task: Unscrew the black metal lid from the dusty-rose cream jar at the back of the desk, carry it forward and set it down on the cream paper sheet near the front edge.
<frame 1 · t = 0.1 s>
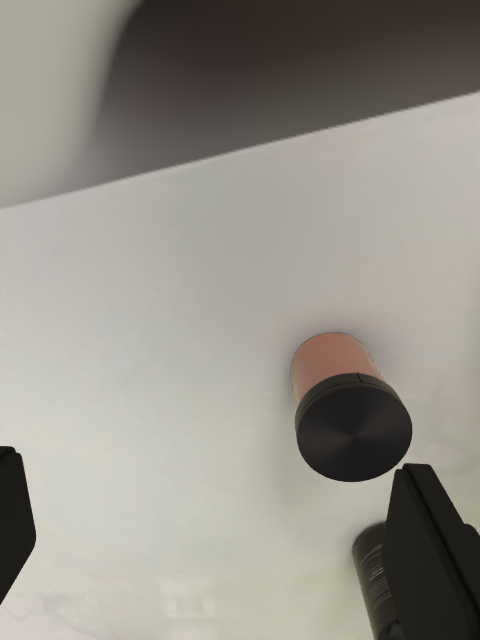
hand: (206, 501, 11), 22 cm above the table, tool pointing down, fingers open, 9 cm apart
supplement bottle: (388, 546, 40), on the table
cream jar: (330, 369, 34), on the table
jar lid: (352, 432, 26), point 8 cm above the table, screwed on, not yet turned
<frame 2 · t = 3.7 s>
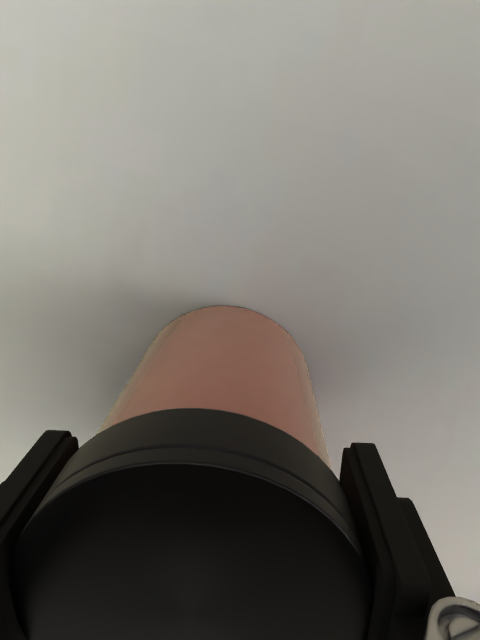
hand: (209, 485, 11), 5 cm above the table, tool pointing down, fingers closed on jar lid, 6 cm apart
cream jar: (225, 384, 16), on the table
jar lid: (192, 592, 8), point 8 cm above the table, screwed on, not yet turned, touching gripper
when the fingers open (5 cm above the table, at t = 6.0 s): jar lid stays where it is, point 9 cm above the table.
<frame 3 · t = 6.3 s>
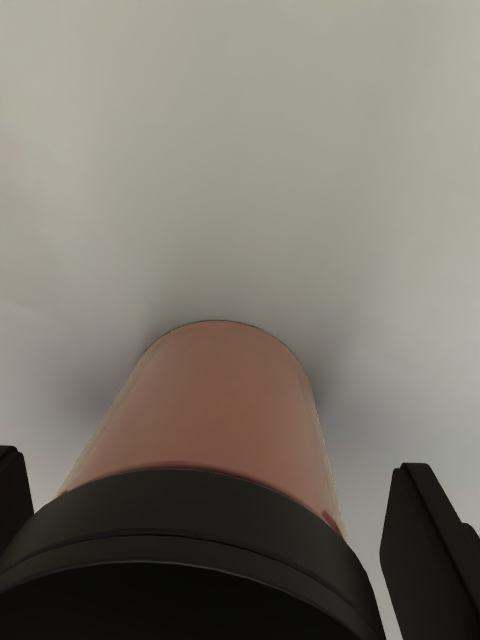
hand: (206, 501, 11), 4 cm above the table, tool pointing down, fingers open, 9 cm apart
cream jar: (220, 406, 15), on the table
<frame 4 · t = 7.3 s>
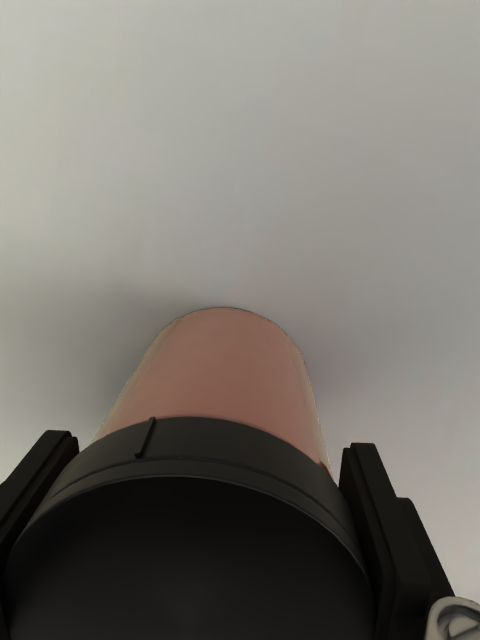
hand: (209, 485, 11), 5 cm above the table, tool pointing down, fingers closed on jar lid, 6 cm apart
cream jar: (224, 386, 16), on the table
jar lid: (190, 607, 8), point 9 cm above the table, turned 104° so far, risen 0.1 cm, still on its thread, touching gripper
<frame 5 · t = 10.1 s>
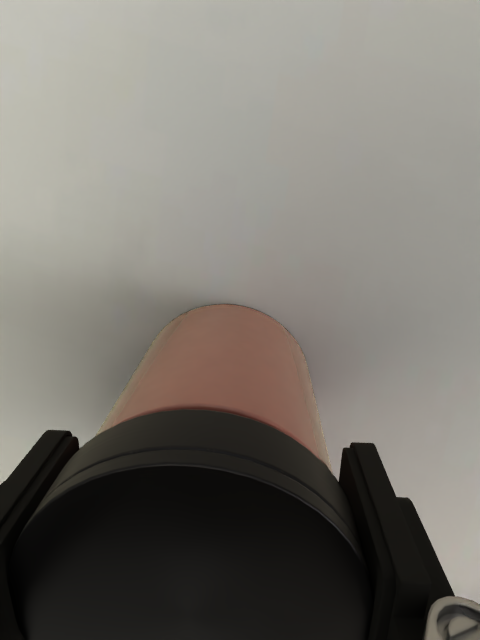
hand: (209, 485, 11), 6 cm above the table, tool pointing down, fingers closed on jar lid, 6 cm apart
cream jar: (225, 382, 17), on the table
jar lid: (191, 595, 8), point 9 cm above the table, turned 207° so far, risen 0.3 cm, still on its thread, touching gripper
when the fingers open (5 cm above the table, at t = 12.4 s): jar lid stays where it is, point 9 cm above the table.
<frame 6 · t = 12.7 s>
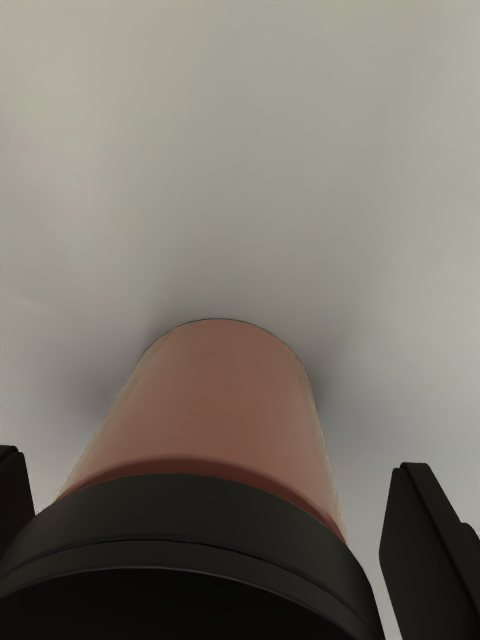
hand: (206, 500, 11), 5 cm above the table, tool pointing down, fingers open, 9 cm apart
cream jar: (220, 403, 15), on the table
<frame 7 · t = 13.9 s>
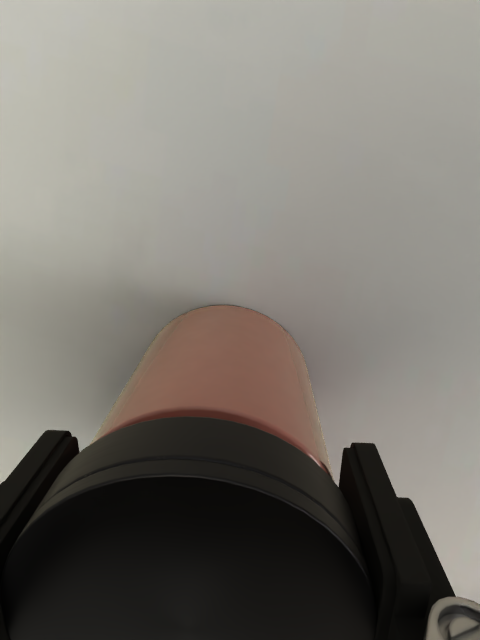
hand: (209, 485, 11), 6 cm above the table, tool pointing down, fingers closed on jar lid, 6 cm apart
cream jar: (224, 383, 17), on the table
jar lid: (190, 607, 8), point 9 cm above the table, turned 310° so far, risen 0.4 cm, still on its thread, touching gripper
when the fingers open (3 cm above the table, at t = 23.4 s): jar lid drops 4 cm, resting on cream paper sheet.
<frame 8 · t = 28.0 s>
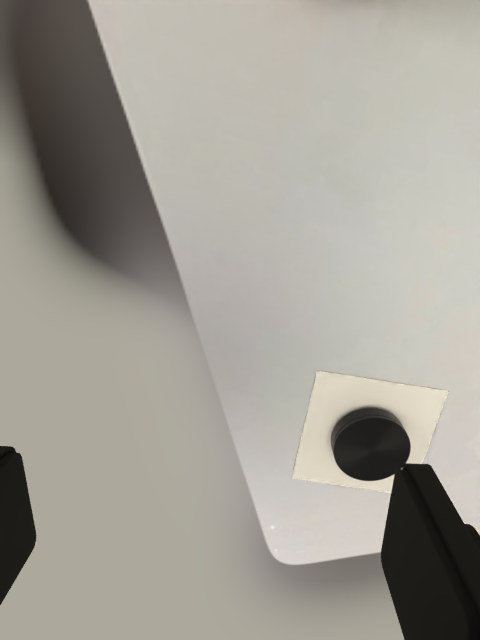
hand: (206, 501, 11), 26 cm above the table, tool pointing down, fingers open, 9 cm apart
cream paper sheet: (365, 435, 41), on the table, touching jar lid
jar lid: (370, 447, 39), point 2 cm above the table, off its thread, touching cream paper sheet
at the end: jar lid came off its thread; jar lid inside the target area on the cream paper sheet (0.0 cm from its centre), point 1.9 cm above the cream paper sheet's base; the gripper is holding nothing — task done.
